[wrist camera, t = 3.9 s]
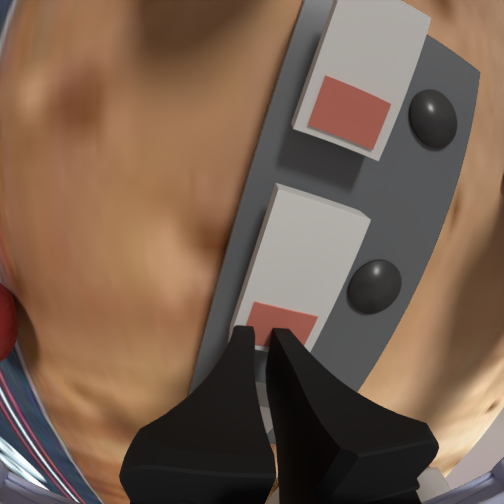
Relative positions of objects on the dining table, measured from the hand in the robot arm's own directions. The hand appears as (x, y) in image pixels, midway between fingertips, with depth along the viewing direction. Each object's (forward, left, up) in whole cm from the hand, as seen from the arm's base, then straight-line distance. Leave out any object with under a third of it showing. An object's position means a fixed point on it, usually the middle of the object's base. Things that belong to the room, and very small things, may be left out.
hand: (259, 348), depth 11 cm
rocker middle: (0, -3, -1) cm, 3 cm away
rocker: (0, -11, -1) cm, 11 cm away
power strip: (-2, -3, -5) cm, 6 cm away
